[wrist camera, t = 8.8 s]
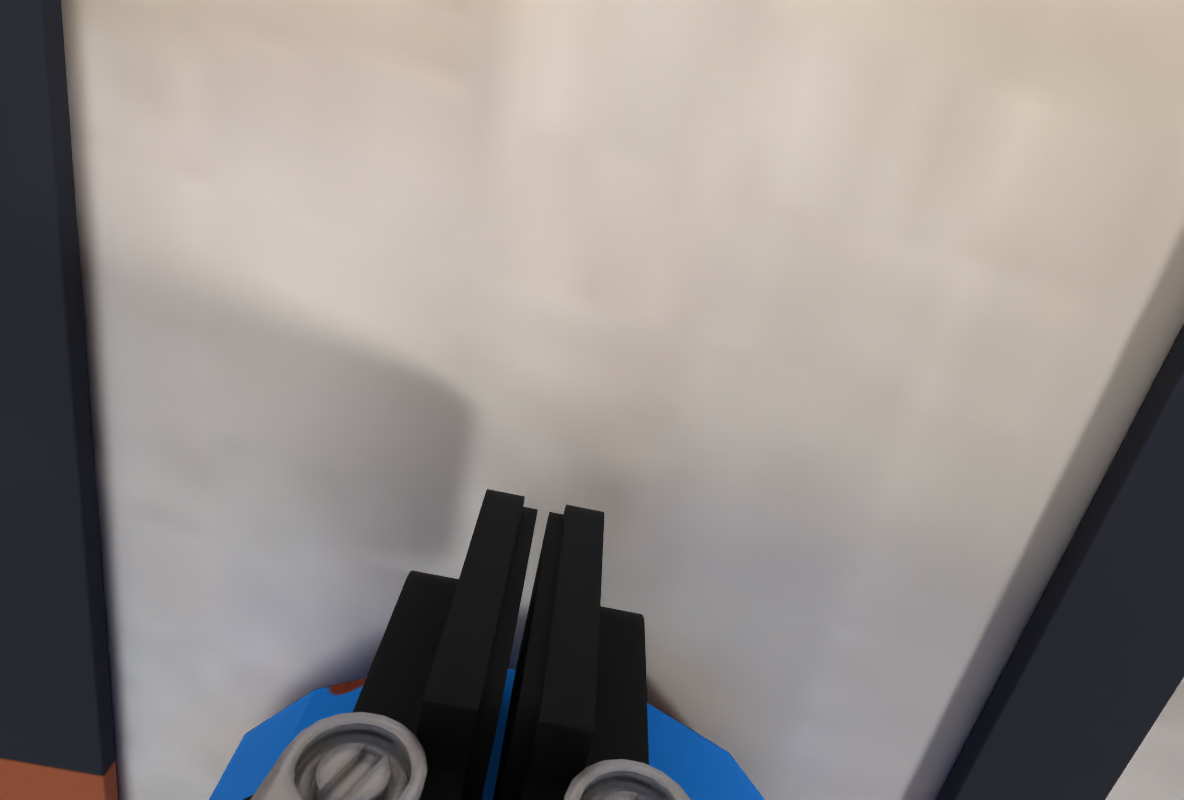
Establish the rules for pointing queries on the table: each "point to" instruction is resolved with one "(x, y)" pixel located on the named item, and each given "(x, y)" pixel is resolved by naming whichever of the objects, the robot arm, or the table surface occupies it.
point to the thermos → (673, 748)
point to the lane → (73, 560)
